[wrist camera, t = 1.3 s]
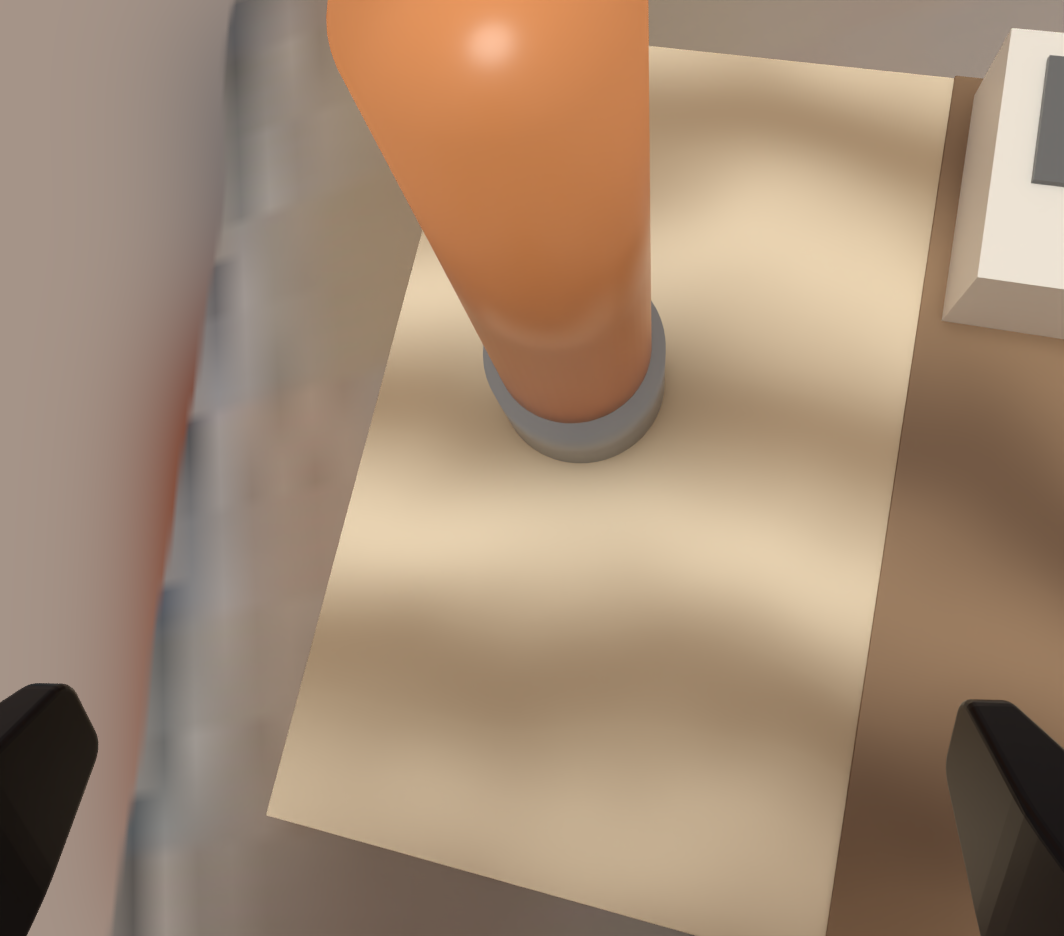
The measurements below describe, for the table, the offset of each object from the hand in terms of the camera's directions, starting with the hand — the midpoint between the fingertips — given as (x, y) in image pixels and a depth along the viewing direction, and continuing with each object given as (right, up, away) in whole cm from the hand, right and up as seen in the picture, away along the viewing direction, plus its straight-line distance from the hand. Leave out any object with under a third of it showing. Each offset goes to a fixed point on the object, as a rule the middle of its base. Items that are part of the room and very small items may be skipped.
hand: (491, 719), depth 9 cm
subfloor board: (+8, +2, +13) cm, 15 cm away
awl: (+2, +5, +13) cm, 14 cm away
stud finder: (+13, +9, +12) cm, 19 cm away
